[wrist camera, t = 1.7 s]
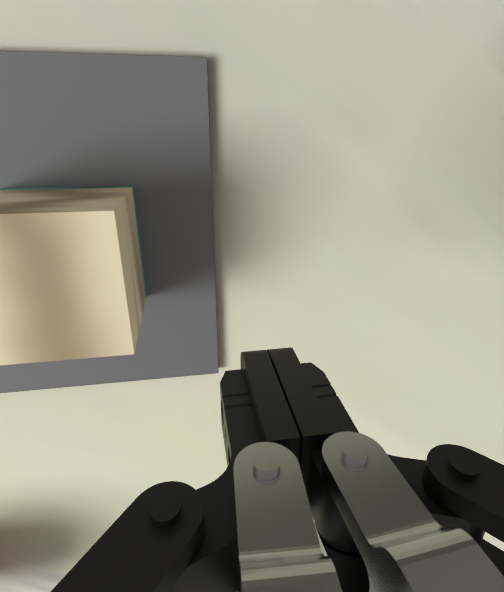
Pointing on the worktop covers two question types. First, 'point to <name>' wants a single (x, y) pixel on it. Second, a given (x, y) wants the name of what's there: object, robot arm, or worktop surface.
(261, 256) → the worktop surface
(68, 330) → the birch cube
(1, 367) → the rubber mat
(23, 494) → the worktop surface
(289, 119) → the worktop surface
